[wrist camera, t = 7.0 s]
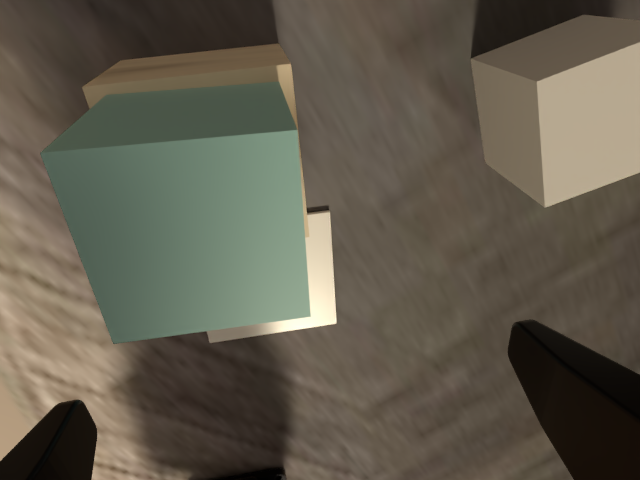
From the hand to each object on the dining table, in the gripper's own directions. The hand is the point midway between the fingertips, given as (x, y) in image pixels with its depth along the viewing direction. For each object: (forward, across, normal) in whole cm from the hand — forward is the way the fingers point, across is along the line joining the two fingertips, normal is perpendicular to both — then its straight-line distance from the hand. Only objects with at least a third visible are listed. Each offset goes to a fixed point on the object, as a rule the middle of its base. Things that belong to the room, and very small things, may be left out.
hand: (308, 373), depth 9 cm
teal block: (+7, +2, -2) cm, 8 cm away
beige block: (+12, -12, -2) cm, 17 cm away
